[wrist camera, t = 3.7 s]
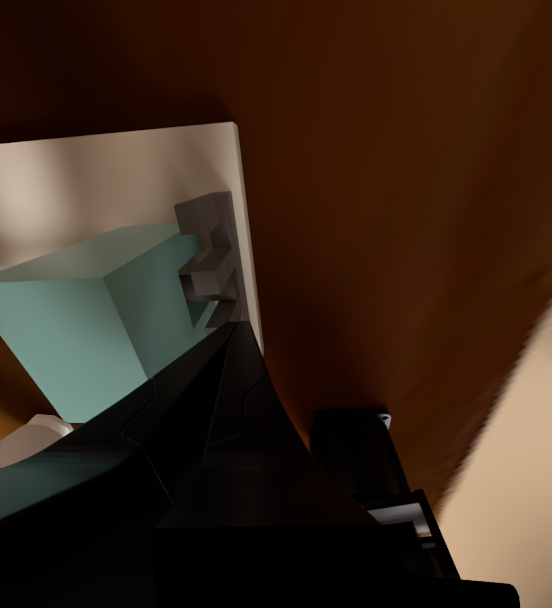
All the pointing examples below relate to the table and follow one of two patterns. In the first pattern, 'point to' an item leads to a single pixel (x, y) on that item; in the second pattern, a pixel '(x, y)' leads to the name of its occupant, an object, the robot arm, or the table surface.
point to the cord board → (138, 204)
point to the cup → (32, 438)
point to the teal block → (102, 315)
